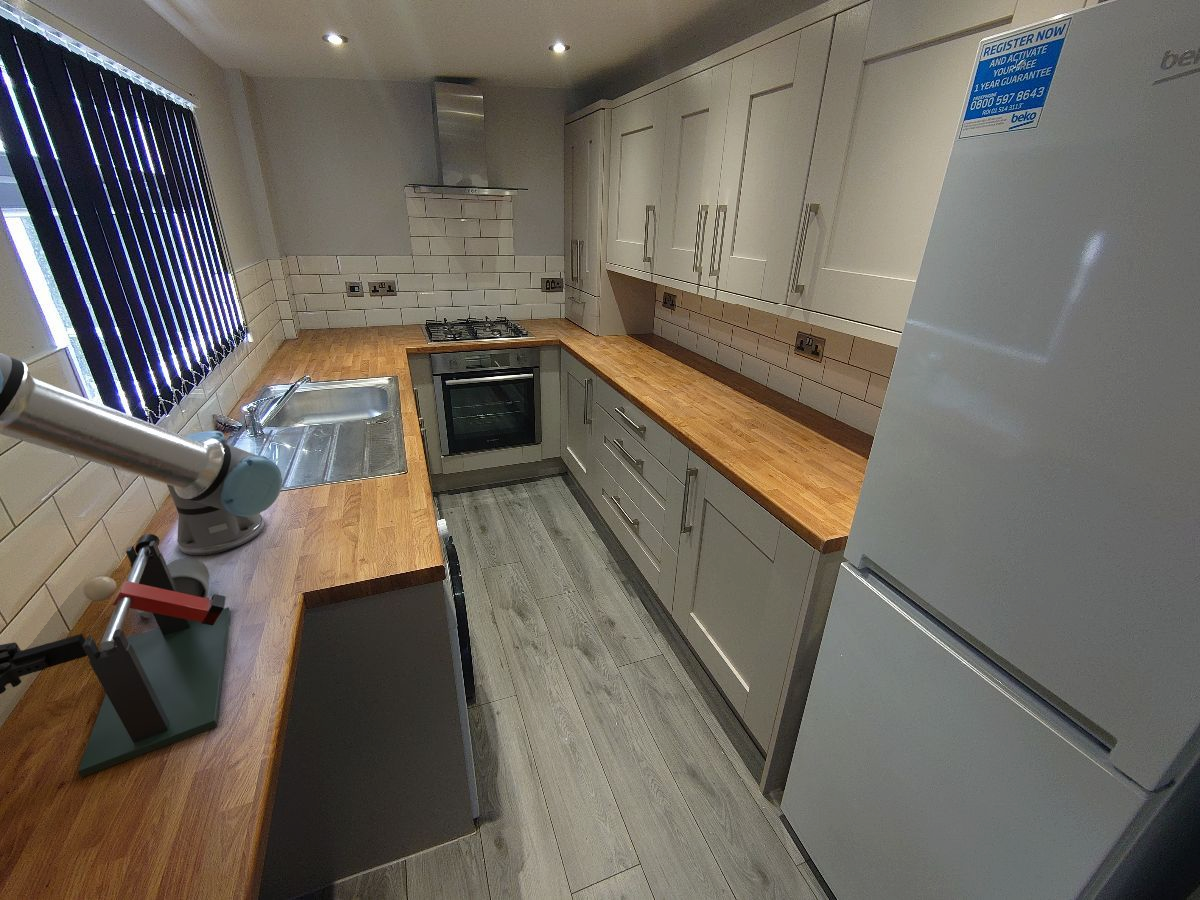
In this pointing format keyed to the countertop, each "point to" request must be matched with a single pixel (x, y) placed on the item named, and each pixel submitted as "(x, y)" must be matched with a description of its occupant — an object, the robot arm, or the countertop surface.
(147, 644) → the foosball frame
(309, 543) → the countertop surface
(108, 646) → the foosball rod
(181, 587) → the ceramic mug
